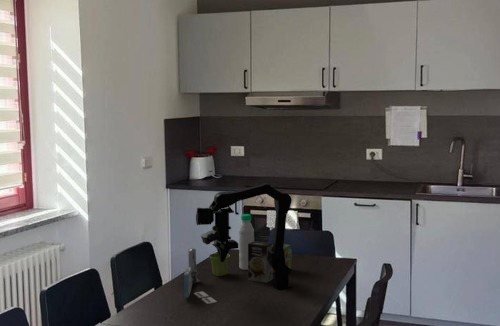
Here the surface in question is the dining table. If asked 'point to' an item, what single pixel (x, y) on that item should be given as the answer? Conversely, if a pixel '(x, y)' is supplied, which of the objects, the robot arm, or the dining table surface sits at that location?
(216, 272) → the plant pot
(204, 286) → the dining table surface
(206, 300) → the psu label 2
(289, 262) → the chalk box
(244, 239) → the water bottle
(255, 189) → the robot arm
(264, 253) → the coffee box
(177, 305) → the dining table surface
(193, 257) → the post
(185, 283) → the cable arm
